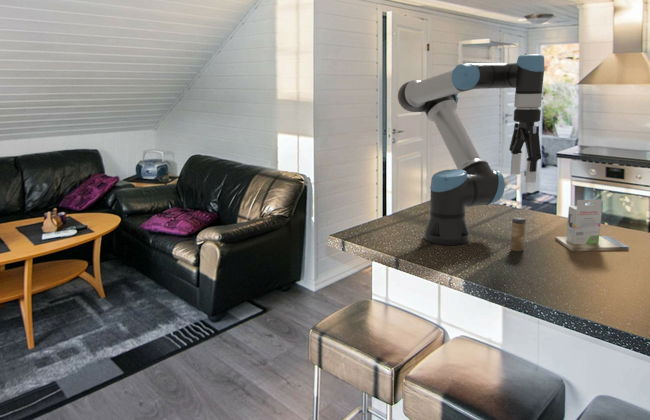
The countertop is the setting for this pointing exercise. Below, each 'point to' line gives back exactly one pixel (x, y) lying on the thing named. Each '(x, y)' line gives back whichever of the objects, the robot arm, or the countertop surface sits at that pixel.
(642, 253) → the countertop surface
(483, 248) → the countertop surface
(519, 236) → the grey and tan cylinder
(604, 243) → the plywood panel
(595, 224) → the ink box
